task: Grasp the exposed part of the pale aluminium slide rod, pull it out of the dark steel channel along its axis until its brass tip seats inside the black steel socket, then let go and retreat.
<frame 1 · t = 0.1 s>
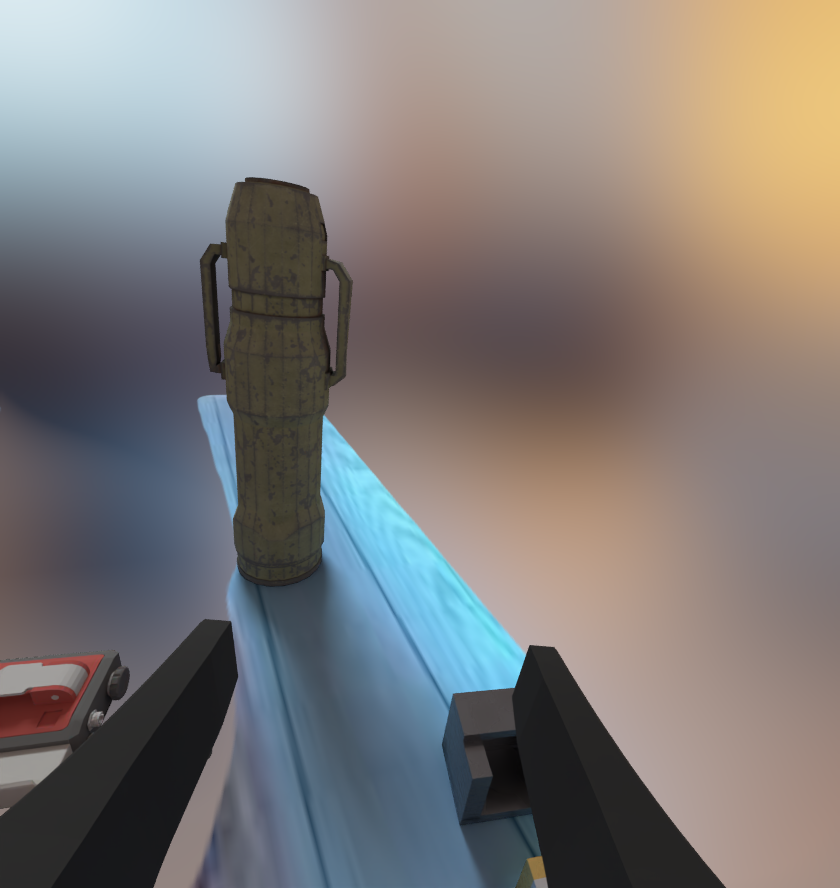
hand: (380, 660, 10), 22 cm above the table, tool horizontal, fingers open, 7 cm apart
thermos: (281, 559, 46), on the table
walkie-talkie: (58, 737, 28), on the table
socket: (512, 816, 26), on the table
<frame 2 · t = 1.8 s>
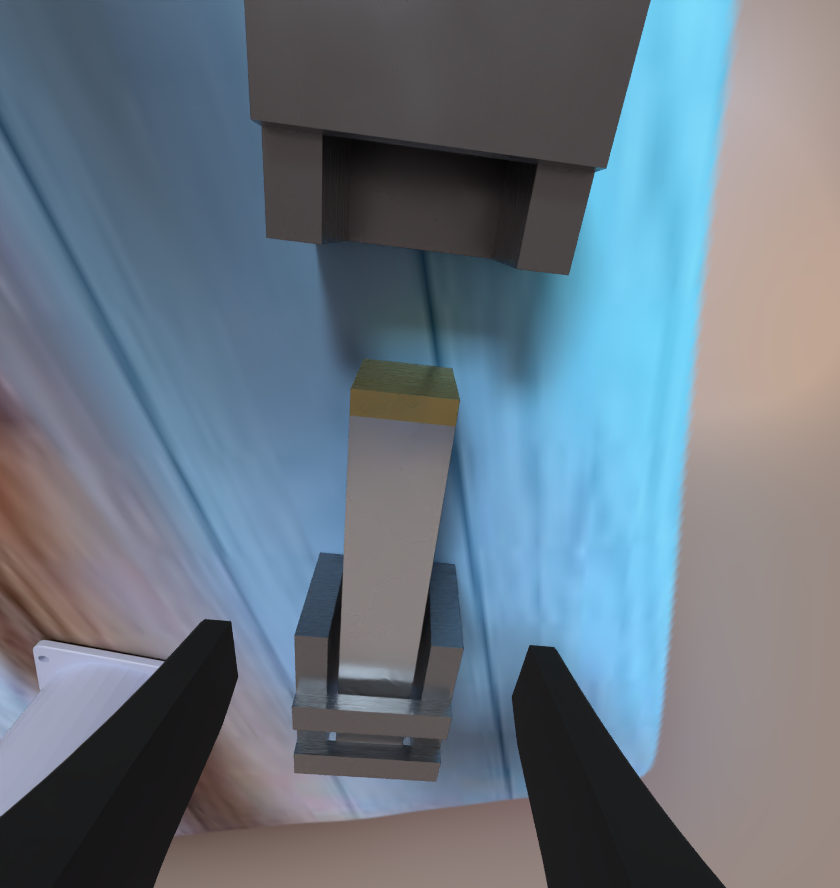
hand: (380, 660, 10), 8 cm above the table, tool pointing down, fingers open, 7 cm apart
sleeve: (381, 619, 21), on the table
rod: (384, 596, 17), point 2 cm above the table, slide at 0.0 cm
socket: (420, 248, 14), on the table
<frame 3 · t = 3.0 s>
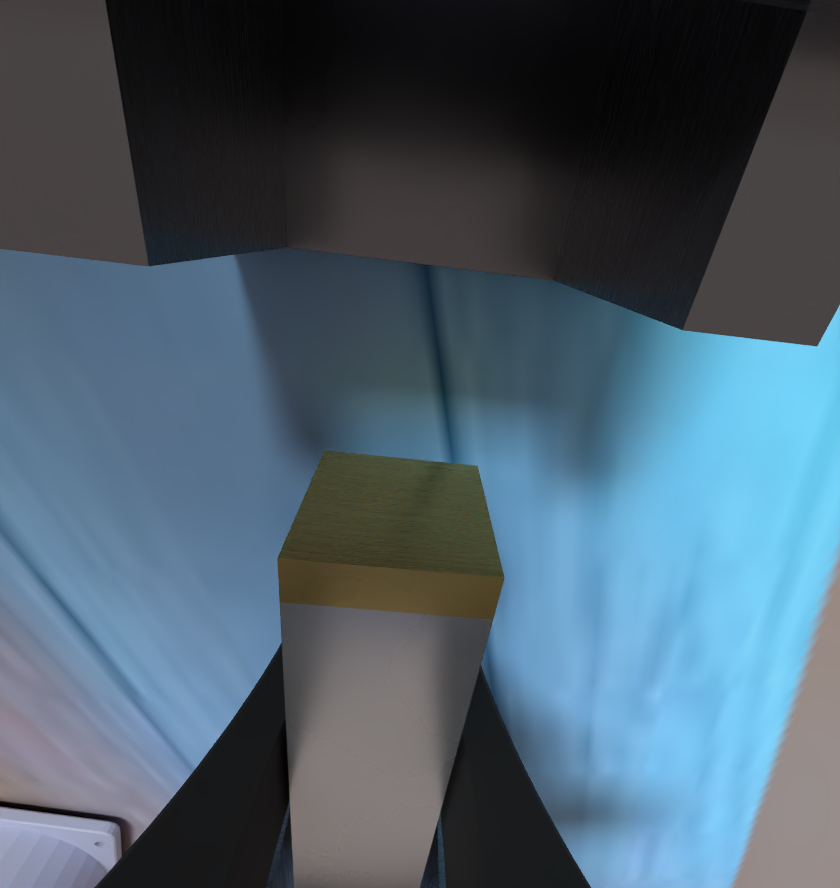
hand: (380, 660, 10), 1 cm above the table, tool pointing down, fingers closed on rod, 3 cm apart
sleeve: (367, 770, 15), on the table
rod: (366, 792, 11), point 2 cm above the table, slide at 0.0 cm, touching gripper
socket: (422, 261, 8), on the table
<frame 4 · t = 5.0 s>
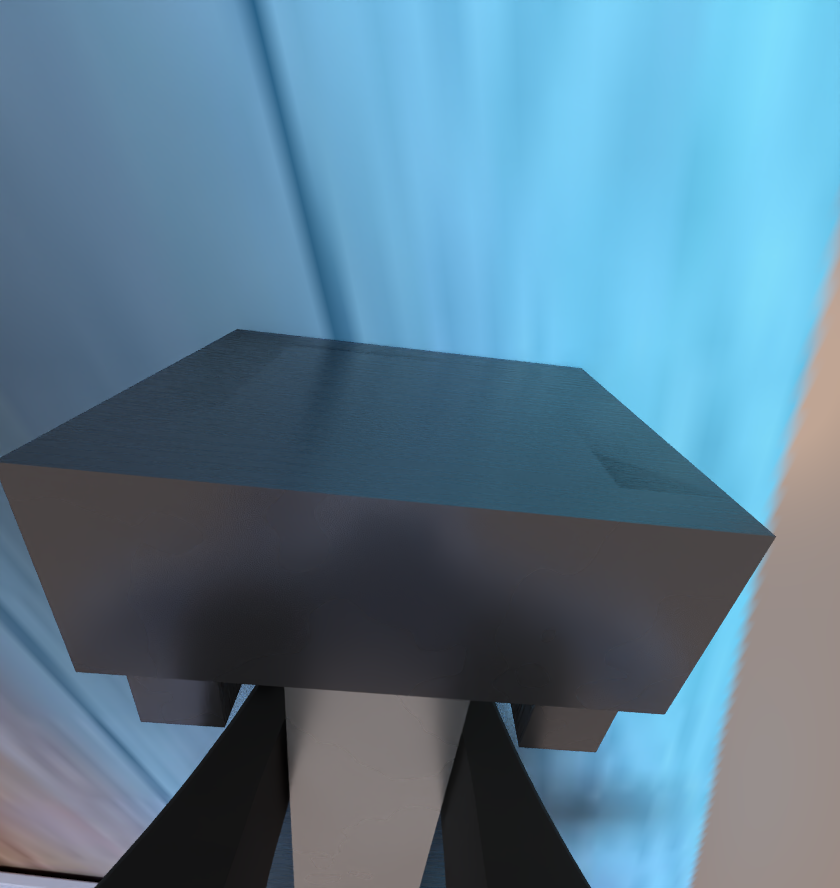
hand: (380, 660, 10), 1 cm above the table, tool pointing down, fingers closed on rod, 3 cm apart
sleeve: (359, 849, 18), on the table
rod: (366, 794, 11), point 2 cm above the table, slide at 6.2 cm, touching gripper
socket: (392, 537, 10), on the table
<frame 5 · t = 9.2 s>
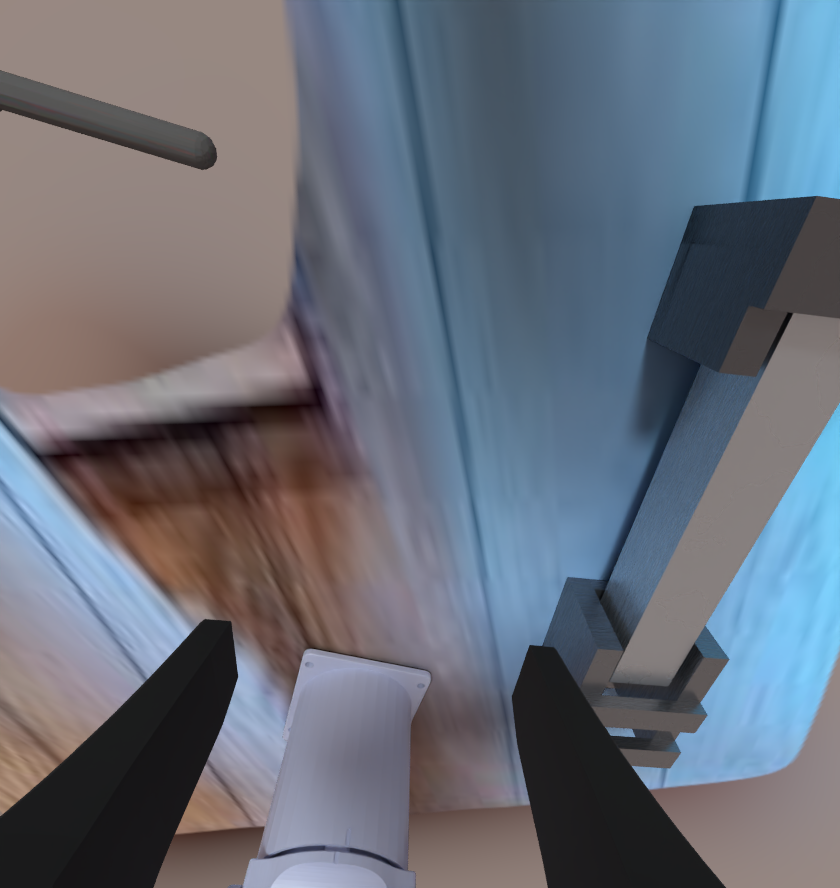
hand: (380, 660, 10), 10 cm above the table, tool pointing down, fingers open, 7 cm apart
sleeve: (600, 632, 25), on the table
rod: (697, 513, 18), point 2 cm above the table, slide at 6.2 cm
socket: (727, 347, 17), on the table
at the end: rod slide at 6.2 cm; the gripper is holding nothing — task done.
